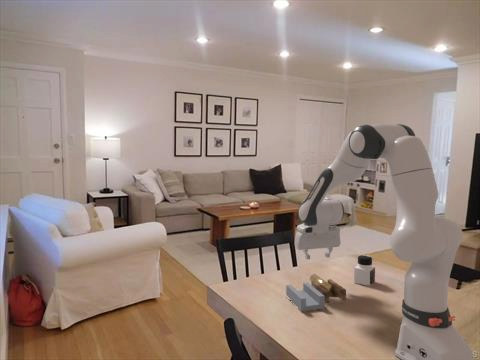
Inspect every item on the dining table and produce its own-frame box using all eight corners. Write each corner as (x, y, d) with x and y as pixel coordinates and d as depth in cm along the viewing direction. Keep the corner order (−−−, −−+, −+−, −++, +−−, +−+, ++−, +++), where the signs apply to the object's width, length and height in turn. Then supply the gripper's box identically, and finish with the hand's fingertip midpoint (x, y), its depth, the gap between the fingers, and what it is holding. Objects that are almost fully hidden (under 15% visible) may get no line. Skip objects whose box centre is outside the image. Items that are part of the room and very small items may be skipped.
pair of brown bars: (346, 299, 138) (346, 289, 138) (325, 302, 136) (325, 292, 136) (330, 288, 150) (330, 279, 149) (311, 290, 148) (311, 281, 147)
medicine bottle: (370, 286, 151) (370, 259, 150) (353, 283, 156) (354, 256, 155) (375, 281, 157) (375, 255, 156) (359, 278, 161) (359, 253, 160)
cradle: (324, 308, 130) (324, 295, 130) (300, 312, 128) (300, 298, 127) (307, 294, 144) (307, 282, 143) (286, 296, 141) (286, 284, 141)
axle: (331, 296, 144) (335, 287, 144) (323, 292, 143) (327, 284, 143) (315, 284, 157) (319, 275, 158) (308, 280, 156) (312, 272, 156)
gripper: (335, 223, 155) (335, 254, 156) (293, 226, 150) (293, 257, 151) (343, 226, 149) (342, 258, 150) (299, 229, 144) (299, 262, 145)
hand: (317, 258), depth 151 cm, fingers open, 8 cm apart
